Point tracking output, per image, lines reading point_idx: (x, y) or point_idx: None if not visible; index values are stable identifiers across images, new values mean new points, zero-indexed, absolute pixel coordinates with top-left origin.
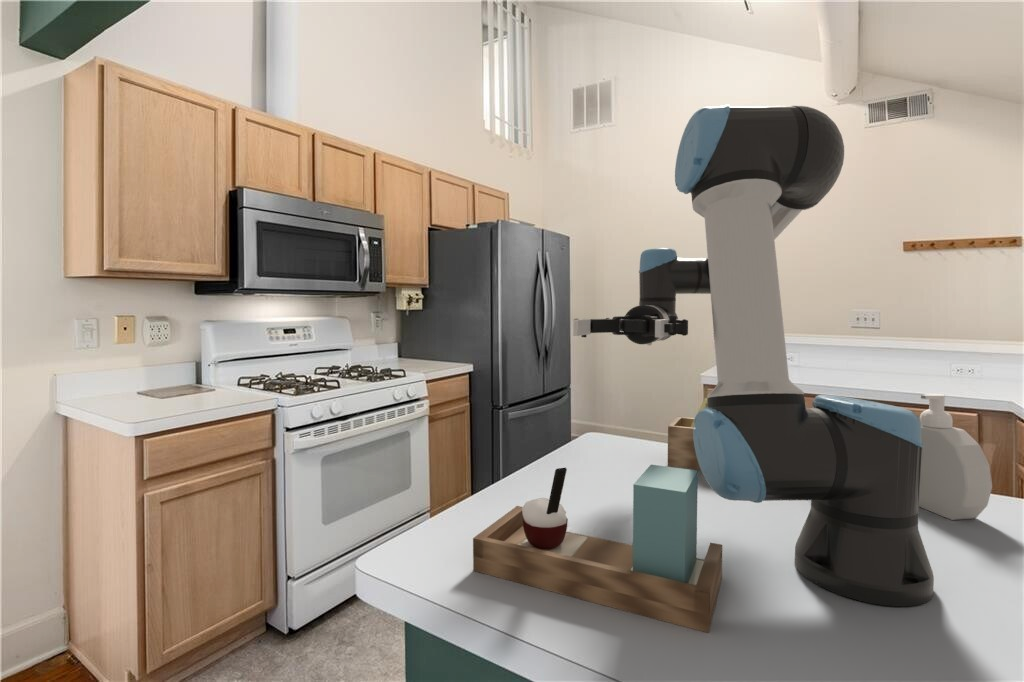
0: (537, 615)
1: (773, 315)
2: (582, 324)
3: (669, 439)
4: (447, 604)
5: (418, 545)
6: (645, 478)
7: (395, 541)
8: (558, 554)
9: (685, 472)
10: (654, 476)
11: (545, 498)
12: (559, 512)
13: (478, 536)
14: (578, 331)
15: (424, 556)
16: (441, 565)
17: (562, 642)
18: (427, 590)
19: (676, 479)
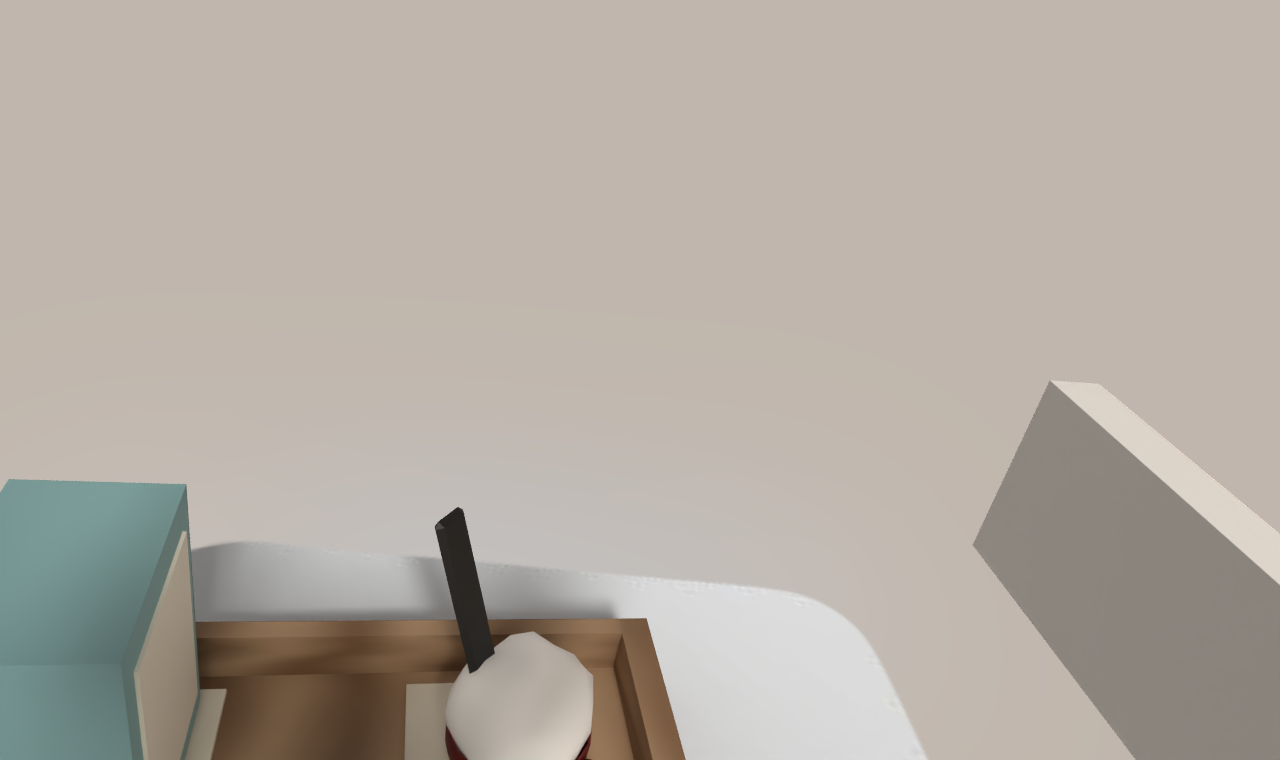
0: (405, 608)
1: None
2: (1146, 561)
3: None
4: (582, 574)
5: (838, 714)
6: (145, 531)
7: (898, 704)
8: (408, 632)
9: None
10: (110, 556)
11: (532, 681)
12: (462, 674)
13: (642, 629)
14: (1008, 524)
15: (775, 680)
16: (708, 667)
17: (327, 568)
18: (649, 591)
19: (21, 555)
